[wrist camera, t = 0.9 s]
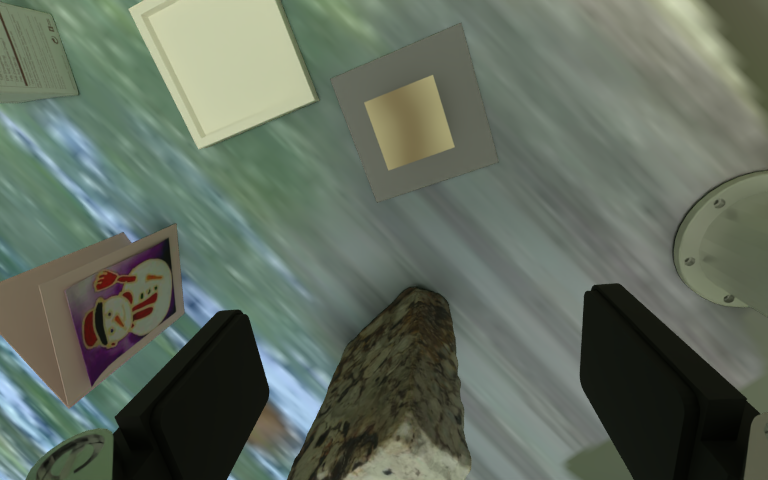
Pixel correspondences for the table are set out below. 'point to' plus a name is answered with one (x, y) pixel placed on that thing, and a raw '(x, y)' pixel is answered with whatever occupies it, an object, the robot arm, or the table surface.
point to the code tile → (459, 101)
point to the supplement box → (32, 57)
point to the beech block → (410, 123)
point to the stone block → (393, 401)
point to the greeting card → (92, 309)
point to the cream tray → (226, 63)
